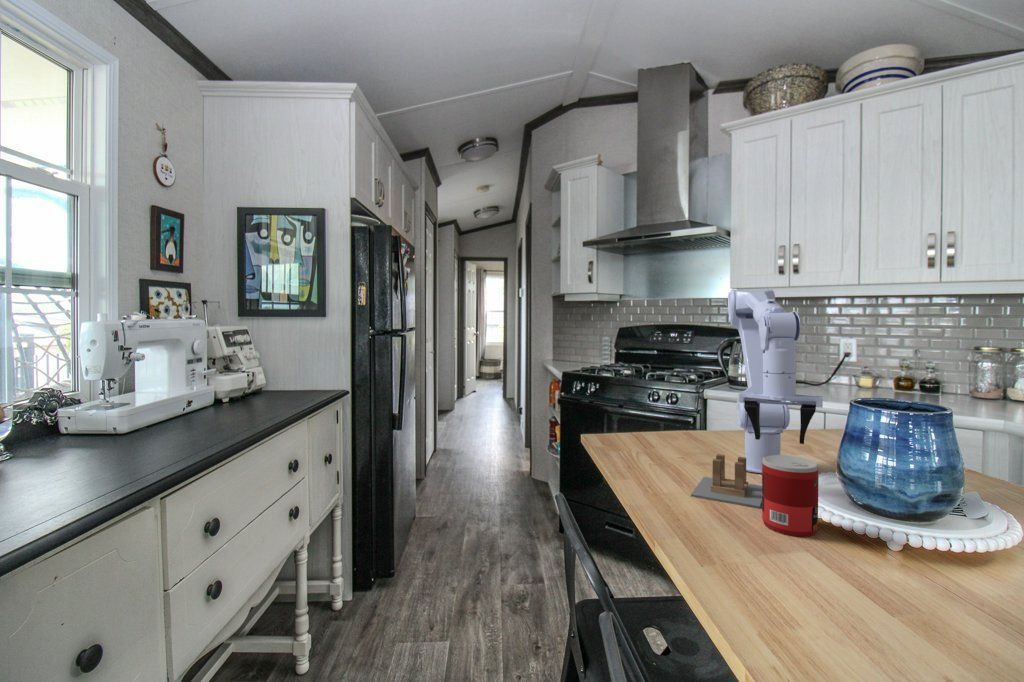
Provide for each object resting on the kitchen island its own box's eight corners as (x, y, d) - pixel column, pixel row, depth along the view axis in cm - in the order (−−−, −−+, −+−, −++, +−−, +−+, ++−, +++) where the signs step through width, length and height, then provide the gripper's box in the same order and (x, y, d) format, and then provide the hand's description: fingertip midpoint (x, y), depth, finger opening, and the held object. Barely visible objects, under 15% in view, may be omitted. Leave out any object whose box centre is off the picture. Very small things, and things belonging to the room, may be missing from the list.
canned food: (826, 539, 74) (827, 469, 74) (770, 535, 76) (770, 467, 75) (806, 519, 82) (807, 455, 81) (756, 516, 83) (756, 453, 83)
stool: (716, 482, 99) (716, 453, 99) (748, 487, 96) (748, 457, 96) (710, 491, 94) (710, 460, 94) (744, 497, 91) (744, 465, 91)
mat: (703, 478, 103) (703, 476, 103) (766, 488, 97) (766, 486, 97) (690, 496, 93) (690, 494, 93) (759, 508, 87) (759, 506, 87)
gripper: (736, 373, 96) (736, 440, 96) (822, 375, 88) (822, 449, 88) (741, 370, 102) (741, 434, 102) (822, 372, 94) (822, 441, 94)
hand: (779, 440), depth 95 cm, fingers open, 7 cm apart
